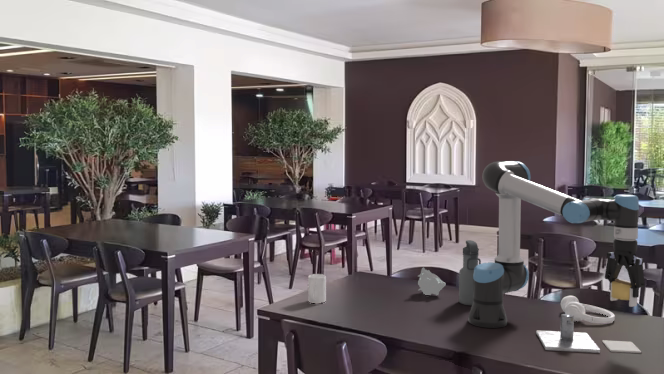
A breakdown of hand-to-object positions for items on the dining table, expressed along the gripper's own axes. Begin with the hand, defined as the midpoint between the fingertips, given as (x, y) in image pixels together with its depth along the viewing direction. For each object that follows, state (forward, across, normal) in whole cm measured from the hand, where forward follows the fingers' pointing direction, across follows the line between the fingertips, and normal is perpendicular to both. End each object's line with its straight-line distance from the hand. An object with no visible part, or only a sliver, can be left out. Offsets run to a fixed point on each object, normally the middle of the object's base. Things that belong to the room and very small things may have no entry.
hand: (623, 303), depth 208 cm
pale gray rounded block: (+16, -93, -83) cm, 125 cm away
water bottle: (+16, -68, -18) cm, 72 cm away
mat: (+16, 0, 0) cm, 16 cm away
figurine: (+16, -87, -26) cm, 92 cm away
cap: (-2, 0, 0) cm, 2 cm away
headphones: (+16, -32, +16) cm, 39 cm away
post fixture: (+16, -11, -15) cm, 24 cm away
